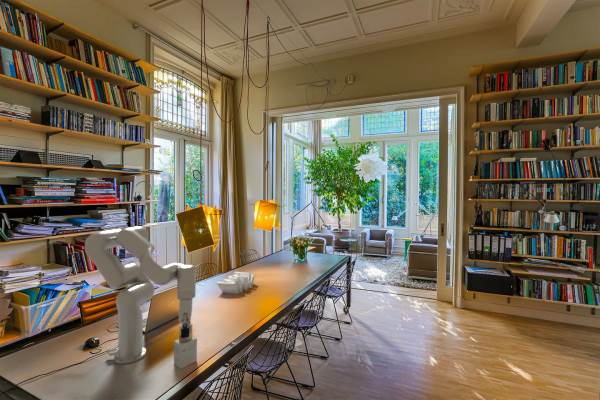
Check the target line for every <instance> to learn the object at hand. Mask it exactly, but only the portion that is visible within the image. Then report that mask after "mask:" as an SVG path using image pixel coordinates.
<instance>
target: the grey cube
mask: <svg viewBox="0 0 600 400" xmlns="http://www.w3.org/2000/svg"><path fill="white" fill-rule="evenodd" d="M181 328H182V323H180V325H178V339H179V342H182V343H185V342H189V341H191V340H192V336H193V323H191V322H190V323H189V337H186V338H181Z"/></svg>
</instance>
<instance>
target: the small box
mask: <svg viewBox="0 0 600 400" xmlns="http://www.w3.org/2000/svg"><path fill="white" fill-rule="evenodd" d="M197 344H198V338H197V337H195V336H194V335H192V340H191V341H189V342H185V343H182V342H179V338H178V339H175V340H174V341H173V364H174V365H175V367H177V368H178V369H180V370H181V369H184V368H185V367H187V366H190V365H191V364H193V363H195V362H197V359H198V351H197V350H198V345H197Z"/></svg>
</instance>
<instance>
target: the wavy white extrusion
mask: <svg viewBox="0 0 600 400" xmlns="http://www.w3.org/2000/svg"><path fill="white" fill-rule="evenodd" d="M227 277H228V278H223V279H222V281H217V282H216V285H217V287H219V289H220V290H221V292H222V294H227V295H240V293H241V294H242V293H243V292H245V291H247V290H249V289H251V288H252V287H253V286H254V281H255V275H254V274H253V273H250V272H245V271H244V272H241V271H234V272H233V275H228V276H227ZM250 287H251V288H250ZM243 290H244V291H243Z"/></svg>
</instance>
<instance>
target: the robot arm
mask: <svg viewBox="0 0 600 400" xmlns="http://www.w3.org/2000/svg"><path fill="white" fill-rule="evenodd" d="M148 238H149V232H148V230H147V229H146V228H144V227H143V226H140V225H139V226H138V225H137V226H130V227H122V228H121V227H120V228H114V229H108V230H107V229H106V230H100V231H97V232H94V233H92V234H89V236H88V237H87V238H86V240H85V241H84V242H85V243H84V251H85V254H86V256H87V257H88V259H89V261H91V262H92V263H93V264H94V266H95V267H96V268H97V270H98V271H99V273H100V275H101V276H102V277H103V279H104V281H105V282H106V284H107V285H108V286H109V287H110V289H112V290H118V289H119V290H120V289H122V288H123V290H121V291H120V292H119V293H118V294H117V296H116V298H115V304H116V309H117V315H118V316H117V317H118V318H117V320H118V323H117V324H118V325H117V326H118V327H117V328H118V330H117V331H118V336H117V337H118V343H117V346H118V347H115V348H108V349H107V350H106V351H107V352H106V353H107V354H108V356H109V357H110V356H114V357H113V361H114V363H116V364H120V365H125V364H132V363H134V362H138V361H140V360H141V359H143V358H144V357H145V356H146V355H147V349H146V348H145V347H143V337H144V336H143V333H144V332H143V331H144V329H143V326H144V325H143V323H144V322H143V319H144V318H143V317H144V316H143V311H142V310H141V308H140V306H141V305H143V304H144V303H146V302H147V301H149V300H151V299H152V298H153V296H154V294H155V287H154V285H153V284H155V285H157V286H165V285H168V284H169V283H172V282H173V281H177V282H176V287H177V288H176V289H177V290H176V298H177V300H179V302H178V303H179V304H178V305H179V306H178V324H182V328H181V338H186V337H189V323H191V320H192V314H193V313H192V312H193V299H194V298H196V292H197V291H196V286H197V283H196V282H197V277H196V276H197V275H196V274H197V268H196V266H195V265H194V264H183V263H179V262H171V263H168V264H166V265H164V266H161V265H160V264H158V263H157V262H156V261H155V260H154V259H153V256H152V255H153V254H154V252H155V245H154V244H152V243H151V242H150V241H149V240H148ZM116 247H122V248H123V249H124V251H125V250H126V251H127V252H128V253H129V254H130V255H131V256H133V258H135V259H136V260H138V263H139V264H136V263H133V262H132V263H131V262H130V263H126V264H123V263H122V261H120V259H119V258H118V257H117V256H116V254H114V253H113V252H111V251H109V250H108V249H113V248H116ZM128 285H129V286H128ZM127 286H128V287H127ZM124 287H126V288H124Z"/></svg>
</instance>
